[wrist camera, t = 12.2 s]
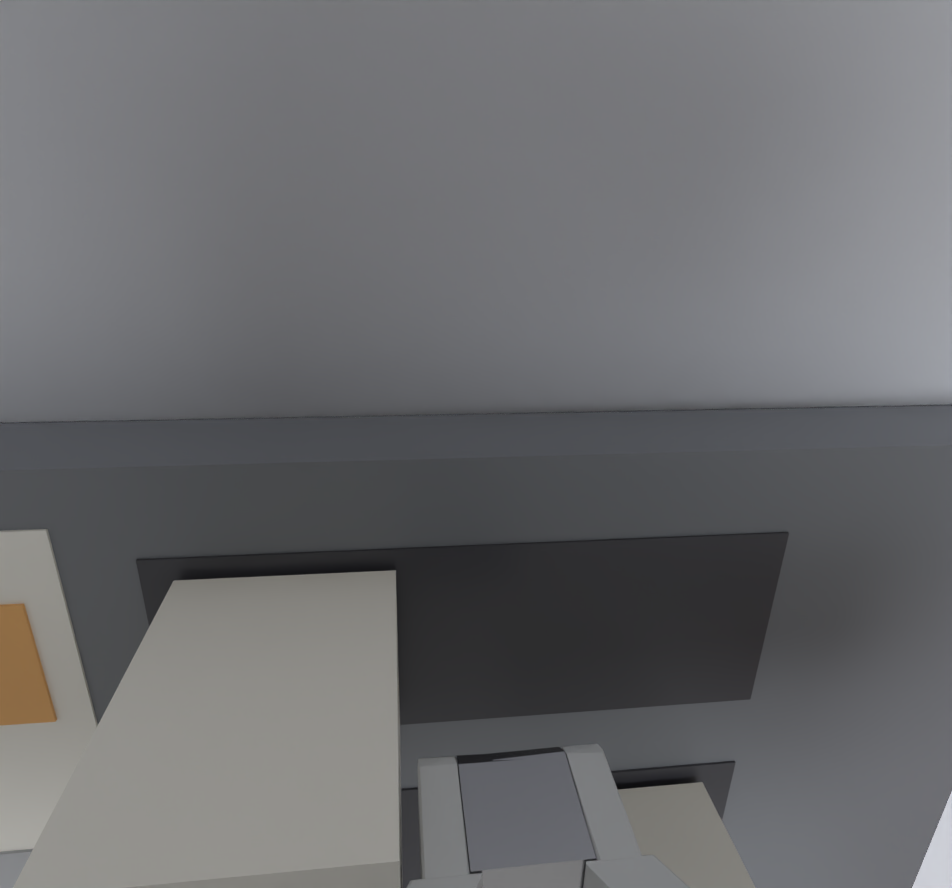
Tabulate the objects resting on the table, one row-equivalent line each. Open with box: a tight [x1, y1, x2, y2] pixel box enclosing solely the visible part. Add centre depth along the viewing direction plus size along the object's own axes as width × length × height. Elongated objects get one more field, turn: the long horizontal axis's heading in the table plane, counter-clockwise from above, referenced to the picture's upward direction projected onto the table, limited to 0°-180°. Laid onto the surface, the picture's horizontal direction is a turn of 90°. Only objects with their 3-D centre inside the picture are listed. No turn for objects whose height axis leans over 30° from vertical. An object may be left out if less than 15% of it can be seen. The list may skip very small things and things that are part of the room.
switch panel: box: [0, 405, 952, 888], centre depth 15 cm, size 18×22×2 cm
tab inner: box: [13, 570, 403, 888], centre depth 9 cm, size 3×4×5 cm
